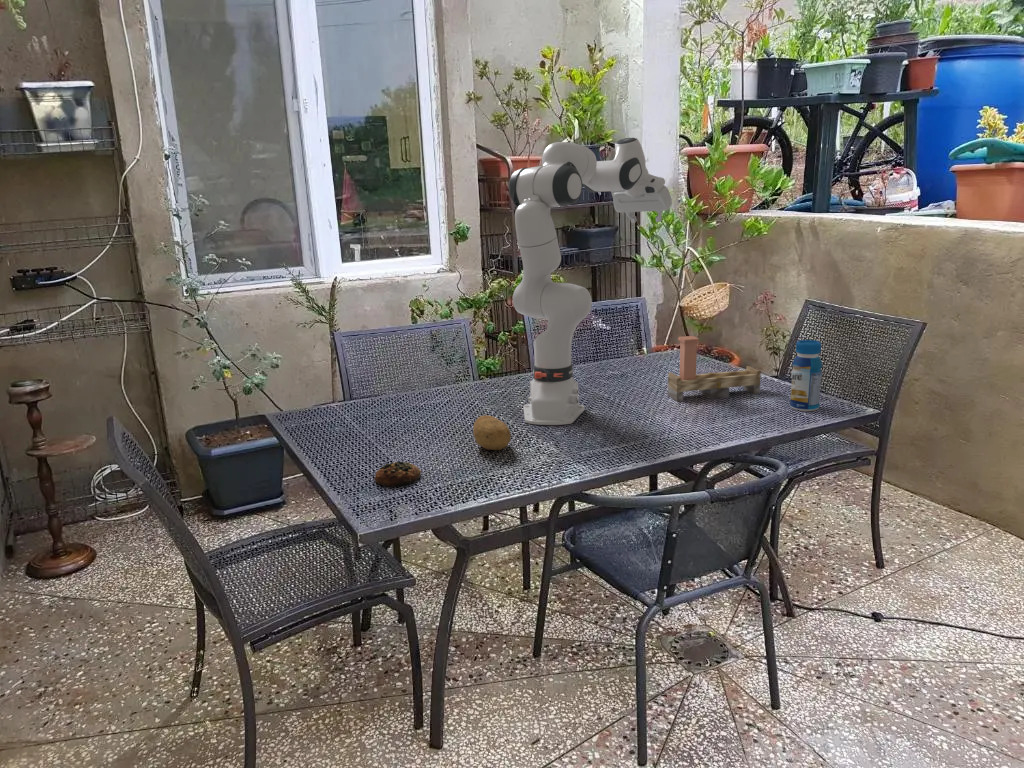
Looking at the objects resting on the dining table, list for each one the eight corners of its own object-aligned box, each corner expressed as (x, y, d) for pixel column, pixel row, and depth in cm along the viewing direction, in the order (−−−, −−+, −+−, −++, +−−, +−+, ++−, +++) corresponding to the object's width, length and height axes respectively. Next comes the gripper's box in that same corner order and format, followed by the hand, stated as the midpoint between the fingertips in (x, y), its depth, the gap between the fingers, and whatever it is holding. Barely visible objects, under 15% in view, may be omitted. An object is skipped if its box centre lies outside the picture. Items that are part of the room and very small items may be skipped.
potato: (484, 460, 188) (483, 430, 186) (466, 443, 201) (465, 415, 199) (520, 453, 192) (519, 424, 190) (500, 437, 205) (499, 410, 202)
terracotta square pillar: (683, 384, 231) (684, 340, 228) (677, 380, 236) (678, 337, 232) (697, 382, 232) (699, 338, 228) (691, 378, 237) (692, 335, 233)
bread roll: (387, 491, 171) (385, 470, 171) (367, 483, 180) (365, 463, 180) (429, 481, 178) (427, 460, 177) (408, 473, 187) (406, 454, 186)
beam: (677, 402, 230) (678, 379, 228) (666, 394, 239) (667, 372, 237) (761, 394, 235) (762, 371, 233) (747, 387, 244) (748, 365, 242)
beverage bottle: (822, 412, 216) (827, 345, 210) (792, 412, 217) (796, 345, 212) (815, 403, 224) (820, 338, 218) (786, 403, 225) (790, 338, 220)
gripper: (605, 191, 251) (616, 227, 258) (661, 187, 238) (670, 225, 246) (613, 182, 254) (623, 217, 262) (669, 178, 242) (677, 215, 250)
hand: (646, 221), depth 254 cm, fingers open, 8 cm apart
